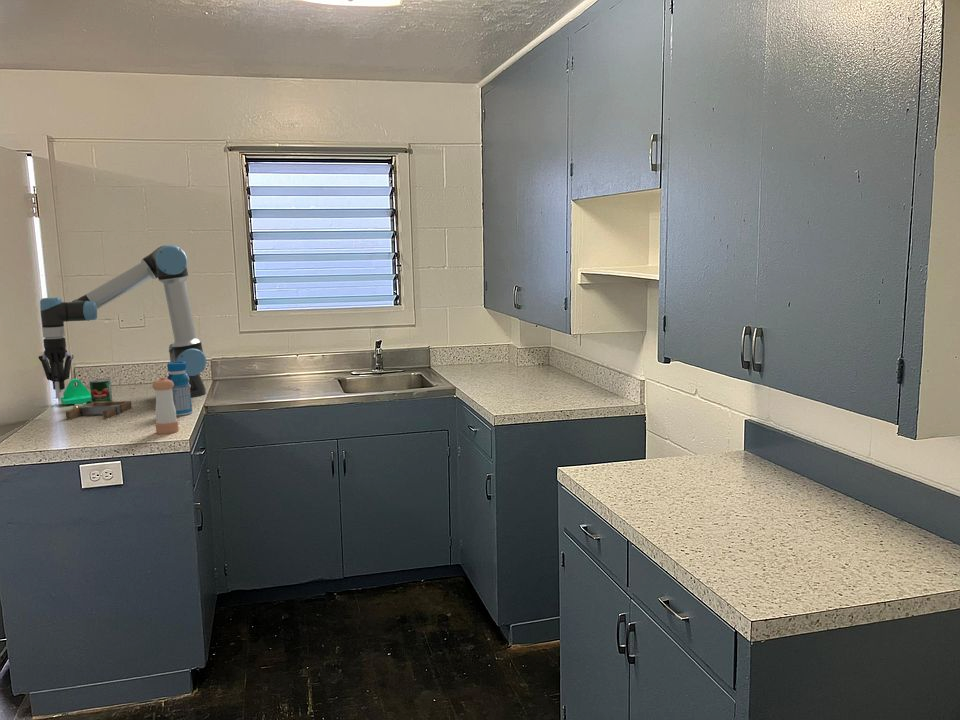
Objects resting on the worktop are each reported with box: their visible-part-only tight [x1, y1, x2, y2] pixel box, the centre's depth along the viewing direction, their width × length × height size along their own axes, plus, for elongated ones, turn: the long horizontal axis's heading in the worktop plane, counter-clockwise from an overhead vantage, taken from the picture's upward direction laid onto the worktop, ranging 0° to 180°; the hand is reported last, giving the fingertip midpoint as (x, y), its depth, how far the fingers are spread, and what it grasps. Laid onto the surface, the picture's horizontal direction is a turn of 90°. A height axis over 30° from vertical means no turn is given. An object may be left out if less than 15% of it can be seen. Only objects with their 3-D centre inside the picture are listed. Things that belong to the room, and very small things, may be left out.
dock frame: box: [65, 400, 133, 420], centre depth 312 cm, size 16×20×3 cm
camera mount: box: [60, 378, 92, 406], centre depth 335 cm, size 12×8×10 cm, turn 128°
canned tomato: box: [88, 378, 114, 402], centre depth 327 cm, size 8×8×11 cm
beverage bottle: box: [166, 361, 193, 417], centre depth 305 cm, size 8×8×20 cm
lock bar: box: [72, 405, 121, 416], centre depth 311 cm, size 18×3×3 cm, turn 88°
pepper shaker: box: [151, 377, 180, 435], centre depth 276 cm, size 7×7×19 cm
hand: (59, 397), depth 311 cm, fingers closed
